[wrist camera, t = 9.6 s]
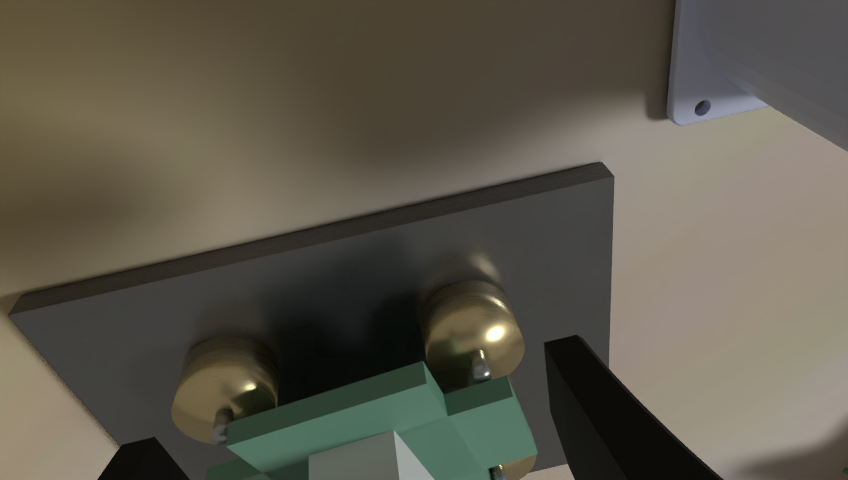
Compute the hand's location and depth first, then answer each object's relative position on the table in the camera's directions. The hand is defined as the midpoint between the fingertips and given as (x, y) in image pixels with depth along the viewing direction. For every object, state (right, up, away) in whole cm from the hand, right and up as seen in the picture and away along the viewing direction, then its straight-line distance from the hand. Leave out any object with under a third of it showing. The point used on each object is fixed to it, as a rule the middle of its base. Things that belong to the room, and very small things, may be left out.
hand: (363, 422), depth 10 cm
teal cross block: (-1, -4, +10) cm, 11 cm away
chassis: (-1, -3, +13) cm, 13 cm away
